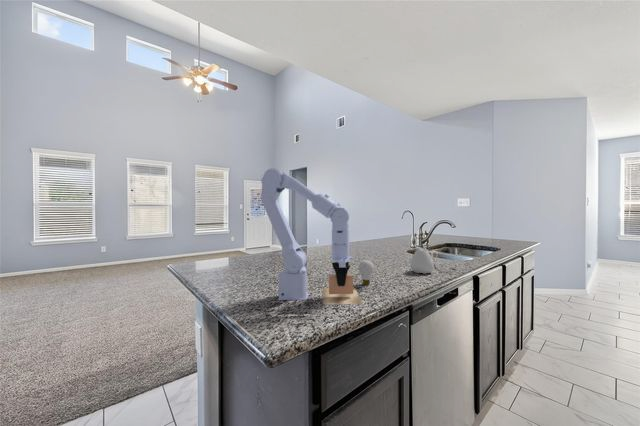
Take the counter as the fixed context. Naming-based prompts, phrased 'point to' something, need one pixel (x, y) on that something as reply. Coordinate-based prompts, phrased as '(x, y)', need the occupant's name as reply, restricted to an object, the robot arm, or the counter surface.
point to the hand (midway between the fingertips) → (341, 284)
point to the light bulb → (366, 271)
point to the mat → (340, 298)
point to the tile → (340, 289)
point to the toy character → (422, 261)
